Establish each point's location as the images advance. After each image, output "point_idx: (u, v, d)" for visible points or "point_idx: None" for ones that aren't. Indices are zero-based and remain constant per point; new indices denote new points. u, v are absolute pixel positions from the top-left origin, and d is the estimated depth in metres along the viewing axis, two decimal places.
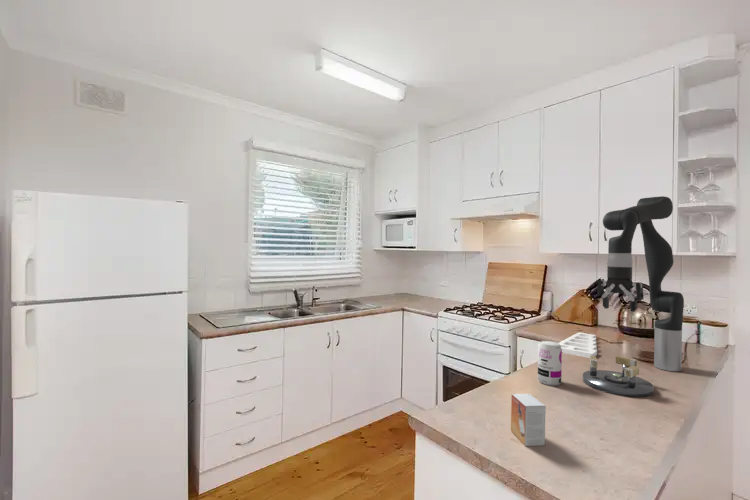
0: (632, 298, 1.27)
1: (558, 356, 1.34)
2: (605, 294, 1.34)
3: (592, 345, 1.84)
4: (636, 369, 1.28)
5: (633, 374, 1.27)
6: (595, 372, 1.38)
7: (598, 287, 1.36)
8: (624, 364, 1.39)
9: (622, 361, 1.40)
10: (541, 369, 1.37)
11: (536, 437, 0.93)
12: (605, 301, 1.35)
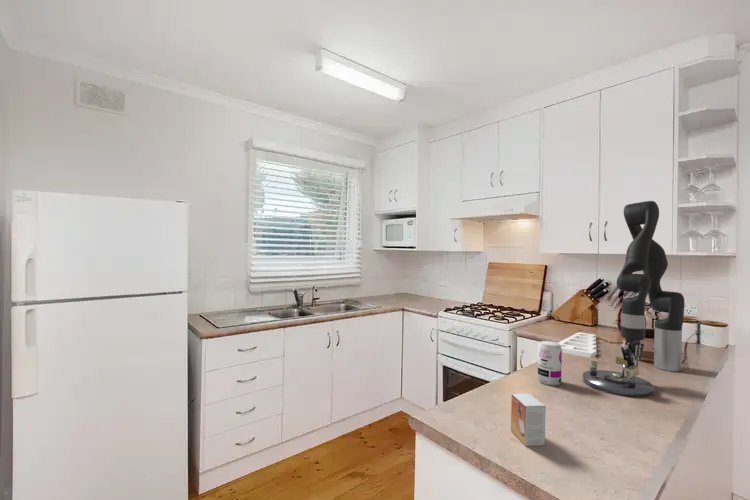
0: (638, 358, 1.38)
1: (558, 356, 1.34)
2: (634, 358, 1.36)
3: (592, 345, 1.85)
4: (636, 369, 1.28)
5: (633, 374, 1.27)
6: (595, 372, 1.38)
7: (630, 354, 1.34)
8: (624, 364, 1.39)
9: (622, 361, 1.40)
10: (541, 370, 1.37)
11: (536, 437, 0.93)
12: (633, 365, 1.36)
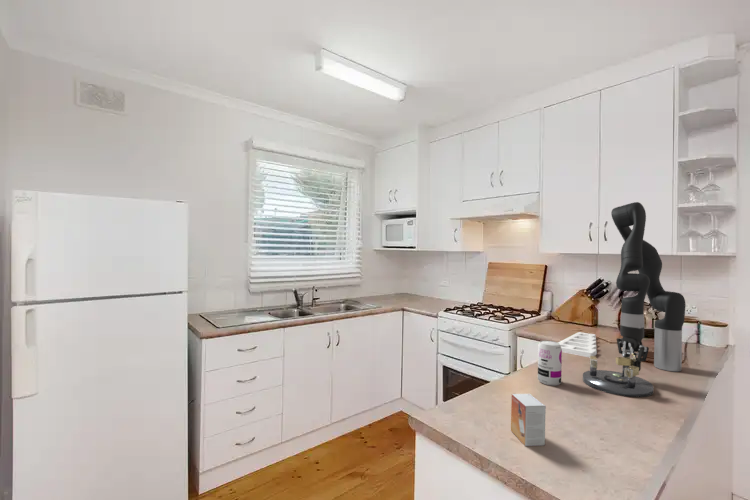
0: None
1: (558, 356, 1.34)
2: None
3: (592, 344, 1.85)
4: (636, 369, 1.28)
5: (633, 374, 1.27)
6: (595, 372, 1.38)
7: None
8: (626, 364, 1.39)
9: (625, 362, 1.39)
10: (541, 369, 1.37)
11: (536, 437, 0.93)
12: None
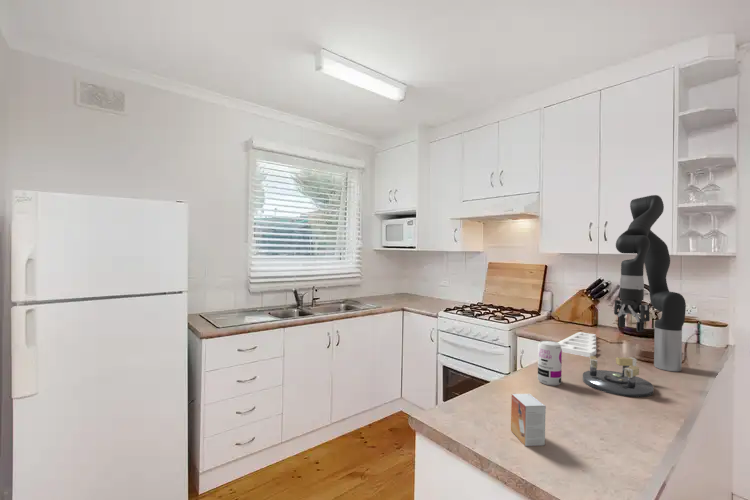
0: None
1: (558, 356, 1.34)
2: None
3: (592, 344, 1.85)
4: (636, 369, 1.28)
5: (633, 374, 1.27)
6: (595, 372, 1.38)
7: None
8: (627, 364, 1.39)
9: (625, 362, 1.39)
10: (541, 369, 1.37)
11: (536, 437, 0.93)
12: None
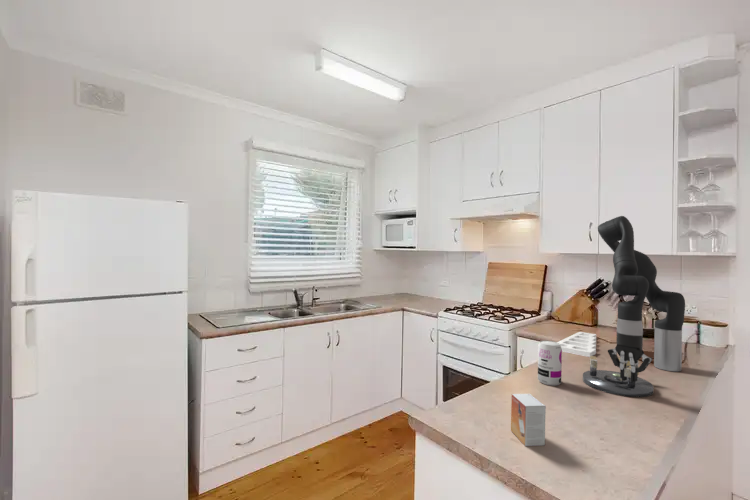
0: None
1: (558, 356, 1.34)
2: None
3: (591, 344, 1.86)
4: None
5: None
6: (595, 372, 1.38)
7: None
8: (627, 364, 1.39)
9: None
10: (541, 369, 1.37)
11: (536, 437, 0.93)
12: None
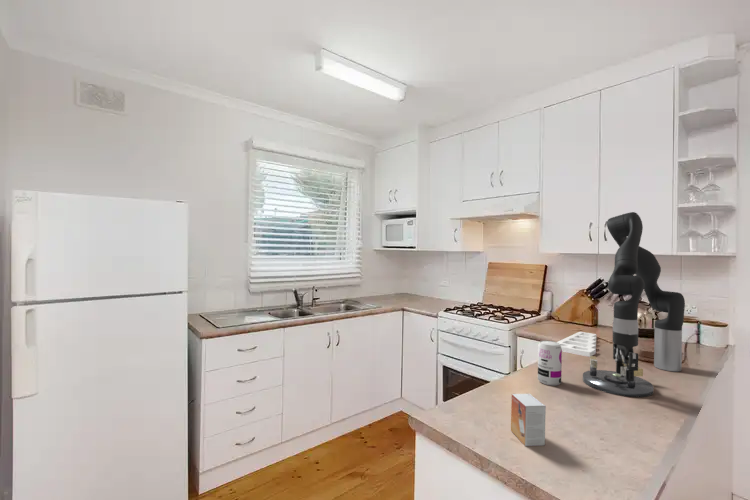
0: None
1: (558, 356, 1.34)
2: None
3: (591, 344, 1.86)
4: None
5: None
6: (595, 372, 1.38)
7: None
8: None
9: None
10: (541, 369, 1.37)
11: (536, 437, 0.93)
12: None
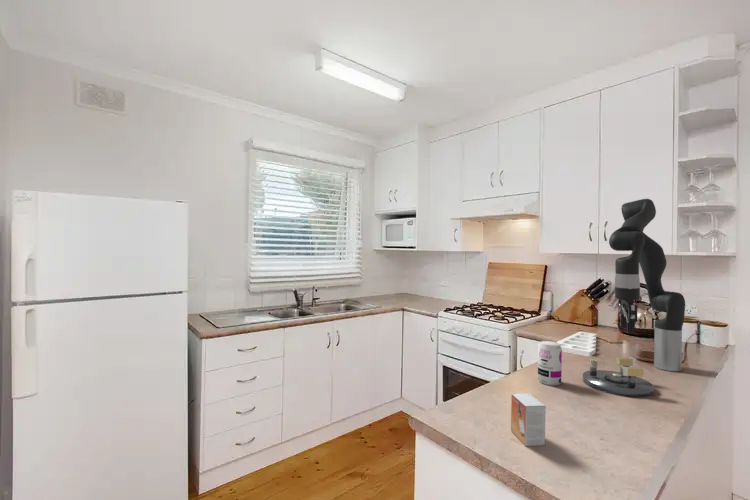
0: None
1: (558, 356, 1.34)
2: None
3: (591, 344, 1.86)
4: (637, 370, 1.27)
5: (629, 373, 1.27)
6: (595, 372, 1.38)
7: None
8: (627, 364, 1.39)
9: (626, 362, 1.39)
10: (541, 370, 1.37)
11: (536, 437, 0.93)
12: None
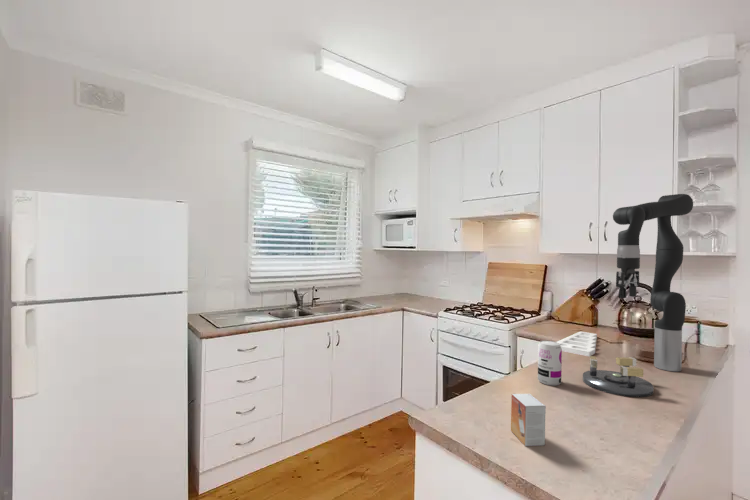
0: (636, 284, 1.46)
1: (558, 356, 1.34)
2: (626, 284, 1.41)
3: (591, 344, 1.87)
4: (637, 370, 1.27)
5: (629, 373, 1.27)
6: (595, 372, 1.38)
7: (623, 278, 1.40)
8: (627, 364, 1.39)
9: (626, 362, 1.39)
10: (541, 369, 1.37)
11: (536, 437, 0.93)
12: (625, 291, 1.41)
